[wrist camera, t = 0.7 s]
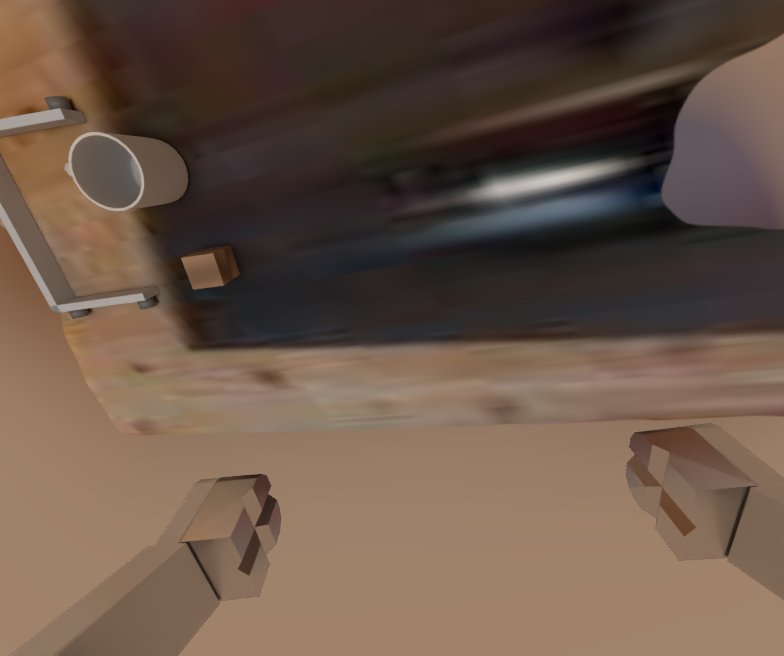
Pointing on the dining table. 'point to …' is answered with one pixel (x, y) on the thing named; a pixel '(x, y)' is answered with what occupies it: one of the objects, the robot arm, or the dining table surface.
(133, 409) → the dining table surface
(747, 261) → the dining table surface
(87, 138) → the cup
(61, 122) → the cart frame
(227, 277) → the walnut block
